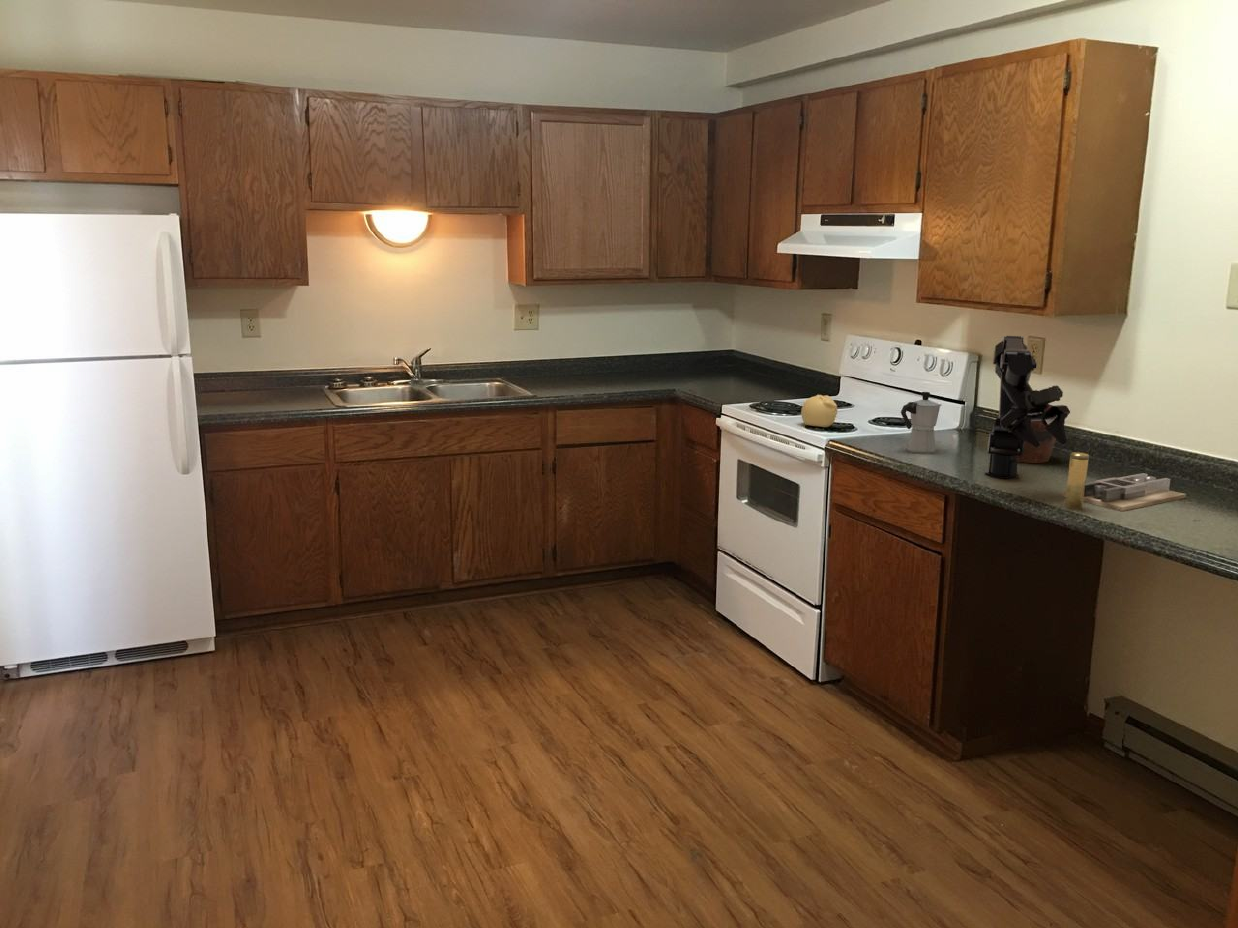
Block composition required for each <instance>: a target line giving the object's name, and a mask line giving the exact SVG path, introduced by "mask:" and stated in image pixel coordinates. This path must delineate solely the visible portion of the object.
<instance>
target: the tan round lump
mask: <svg viewBox="0 0 1238 928" xmlns="http://www.w3.org/2000/svg"><path fill="white" fill-rule="evenodd" d="M800 413H801V414H800V415H801V418H802V421H803V423H804V424H805V425H806V426H812V427H822V428H829V427H830V426H832V424H834V423H835V420H836V418H837V414H838V405H837V403H836V402H835V401H834V400H833V398H831V396H829V395H822V394H817V395H815V396H811V397H809V398H808V399H806V400H805V401H804V403H803V404H802V406H801V411H800Z"/></svg>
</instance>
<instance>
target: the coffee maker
mask: <svg viewBox="0 0 1238 928" xmlns="http://www.w3.org/2000/svg"><path fill="white" fill-rule="evenodd" d="M930 394H931V392H929V391H922V392H921V397H922V399H920V400H915V401H909V402H907V404H905V405H903V406H902V409H901V410H900V414H901V416H902V419H903V421H904V423H905V426H906V428H907V430H911V432H910V436H909V438H908V439H909V441H908V444H907V448H906V451H908V452H911V453H913V454H923V455H924V454H925V455H926V454H927V455H928V454H935V453H936V442H935V441H936V439H935V427H936V425H937V422H938V417H939V412H940V408H941V406H942V404H939V403H938V402H935V401H932V400H929V398H930ZM907 413H910V420H909V417H908V415H907Z"/></svg>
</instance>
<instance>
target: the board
mask: <svg viewBox="0 0 1238 928" xmlns="http://www.w3.org/2000/svg"><path fill="white" fill-rule="evenodd" d="M1186 495H1187V494H1186V493H1182V492H1178V491H1174V490H1170V489H1169V490H1168V491H1163V492H1158V493H1153V494H1148V495H1145V496H1143V497H1138V498H1133V499H1128V500H1117V501H1112V502H1107V503H1104V502H1101V499H1095V498H1093V495H1092V496H1087V497H1084V499H1083V503H1086V504H1087V503H1088V504H1091V505H1095V506H1098V507H1099V506H1100V507H1104V508H1108V509H1112V510H1117V511H1120V512H1124V511H1129V510H1134V509H1138V508H1144V507H1148V506H1153V505H1157V504H1158V505H1159V504H1162V503H1163V504H1164V503H1168V502H1171V501H1178V500H1182V499H1186ZM1061 496H1062V497H1064V498H1065V496H1066V491H1062V493H1061Z"/></svg>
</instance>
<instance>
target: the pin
mask: <svg viewBox="0 0 1238 928" xmlns="http://www.w3.org/2000/svg"><path fill="white" fill-rule="evenodd" d="M1089 458H1090V454H1088V453H1085V452H1070V453H1069V463H1068V464H1069V465H1068V473H1067V481H1066V489H1065V492H1066V496H1065V497H1064V505H1063V506H1064V508H1067V509H1072V510H1082V509H1083V506H1084V502H1083V499H1084V491H1085V483H1087V482H1086V481H1087V473H1088V466H1089V460H1090V459H1089Z"/></svg>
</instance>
